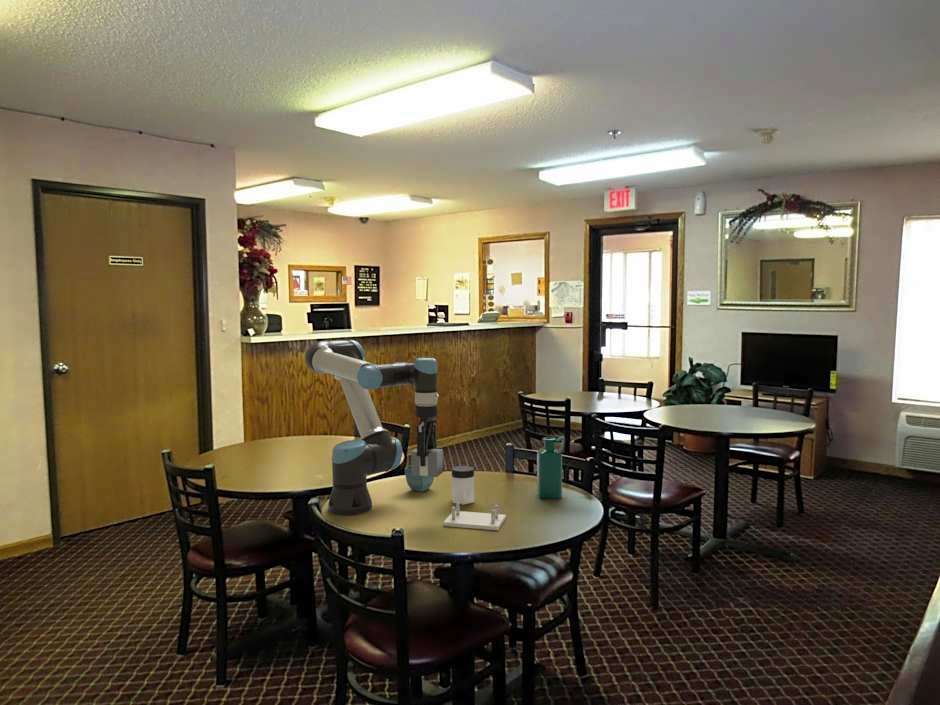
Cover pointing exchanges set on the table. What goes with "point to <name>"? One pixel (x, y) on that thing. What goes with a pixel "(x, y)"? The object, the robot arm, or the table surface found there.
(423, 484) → the flower pot
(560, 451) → the pitcher
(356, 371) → the robot arm
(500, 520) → the pin tray
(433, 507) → the table surface
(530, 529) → the table surface
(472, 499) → the jar
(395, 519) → the table surface
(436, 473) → the block
